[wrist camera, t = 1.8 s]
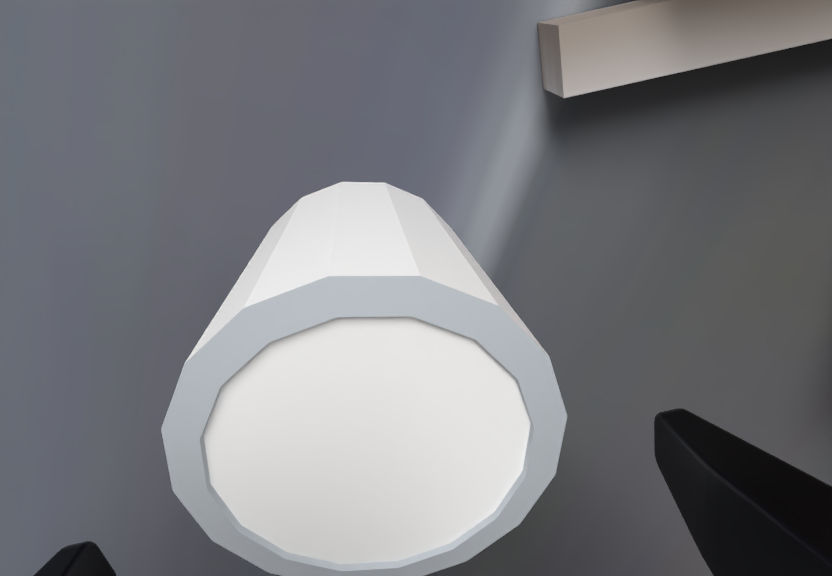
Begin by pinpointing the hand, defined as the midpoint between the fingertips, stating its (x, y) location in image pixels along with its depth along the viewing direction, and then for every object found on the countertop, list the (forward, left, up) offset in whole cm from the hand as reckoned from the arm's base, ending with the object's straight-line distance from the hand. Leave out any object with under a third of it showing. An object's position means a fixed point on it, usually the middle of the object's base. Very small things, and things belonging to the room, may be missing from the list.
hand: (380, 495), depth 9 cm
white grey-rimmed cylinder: (0, 0, -8) cm, 8 cm away
